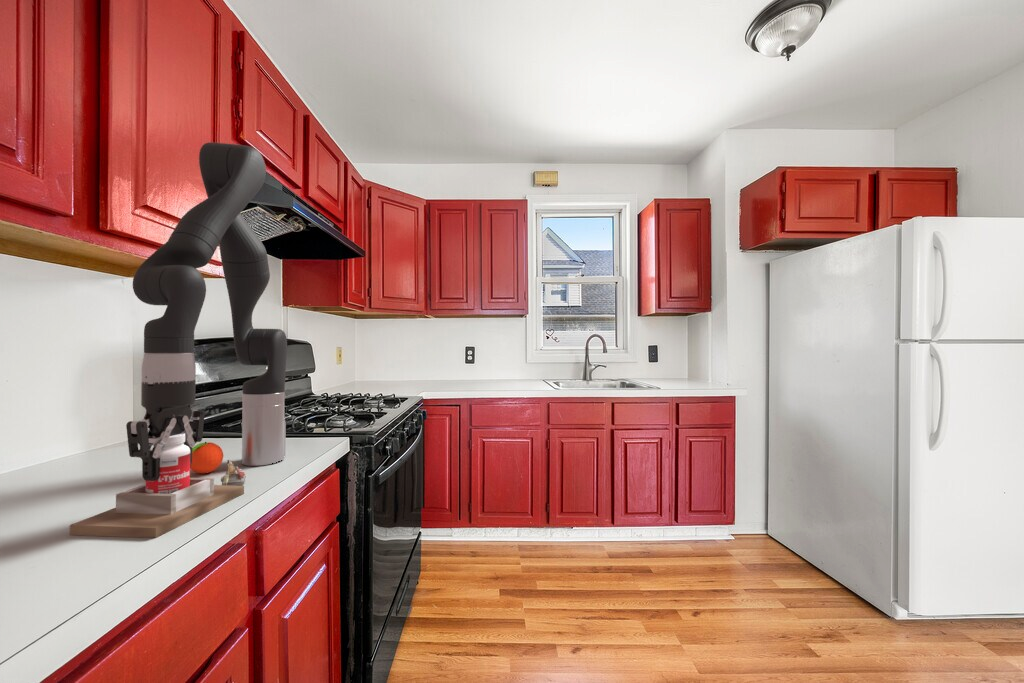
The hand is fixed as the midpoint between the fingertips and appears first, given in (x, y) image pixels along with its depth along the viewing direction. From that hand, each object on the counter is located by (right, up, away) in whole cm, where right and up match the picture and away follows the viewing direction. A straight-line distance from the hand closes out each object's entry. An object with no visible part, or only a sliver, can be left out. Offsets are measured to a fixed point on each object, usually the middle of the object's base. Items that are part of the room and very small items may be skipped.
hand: (168, 473), depth 78 cm
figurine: (+3, -7, +14) cm, 16 cm away
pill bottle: (0, -4, 0) cm, 4 cm away
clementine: (-10, -7, +23) cm, 25 cm away
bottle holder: (0, -7, 0) cm, 7 cm away
